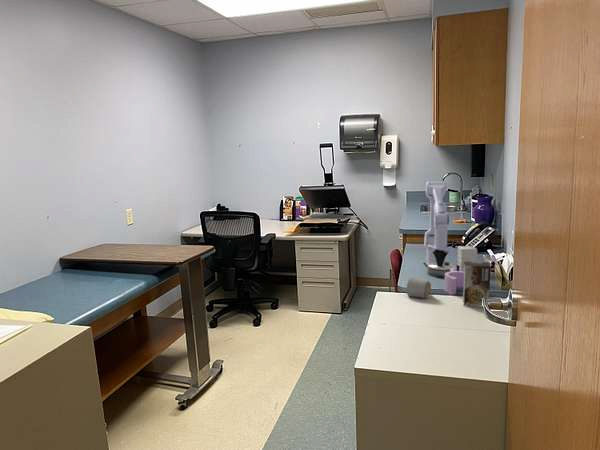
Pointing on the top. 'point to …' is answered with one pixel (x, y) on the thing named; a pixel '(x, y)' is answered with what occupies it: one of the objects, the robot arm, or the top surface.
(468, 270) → the coffee box
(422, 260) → the top surface
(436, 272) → the cooker pot
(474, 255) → the supplement box
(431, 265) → the cooker lid
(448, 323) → the top surface
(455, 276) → the pink rounded block
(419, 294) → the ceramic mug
